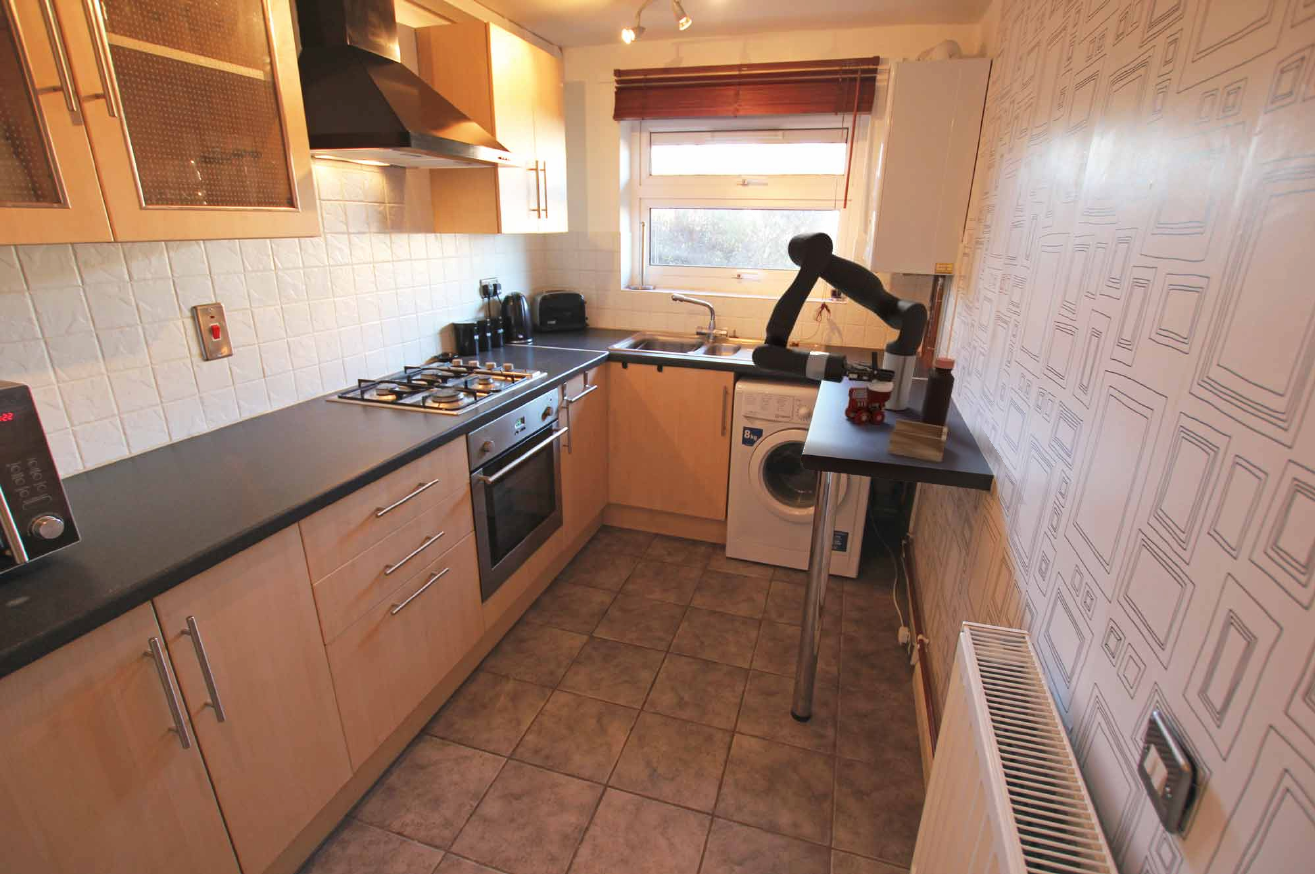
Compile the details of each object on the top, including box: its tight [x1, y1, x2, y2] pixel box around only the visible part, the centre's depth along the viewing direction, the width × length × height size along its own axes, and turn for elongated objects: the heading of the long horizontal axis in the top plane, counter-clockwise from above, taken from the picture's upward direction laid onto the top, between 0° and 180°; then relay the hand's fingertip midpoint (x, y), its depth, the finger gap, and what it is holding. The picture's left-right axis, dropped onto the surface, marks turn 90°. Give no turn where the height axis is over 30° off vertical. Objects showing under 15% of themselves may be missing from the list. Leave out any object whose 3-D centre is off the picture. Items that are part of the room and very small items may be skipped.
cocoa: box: [866, 351, 894, 404], centre depth 157 cm, size 10×6×12 cm, turn 174°
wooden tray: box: [886, 418, 949, 463], centre depth 156 cm, size 14×12×6 cm
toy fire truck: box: [844, 386, 886, 426], centre depth 177 cm, size 7×12×10 cm, turn 106°
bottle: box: [918, 357, 956, 427], centre depth 172 cm, size 7×7×20 cm
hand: (893, 376), depth 156 cm, fingers closed on cocoa, 3 cm apart
